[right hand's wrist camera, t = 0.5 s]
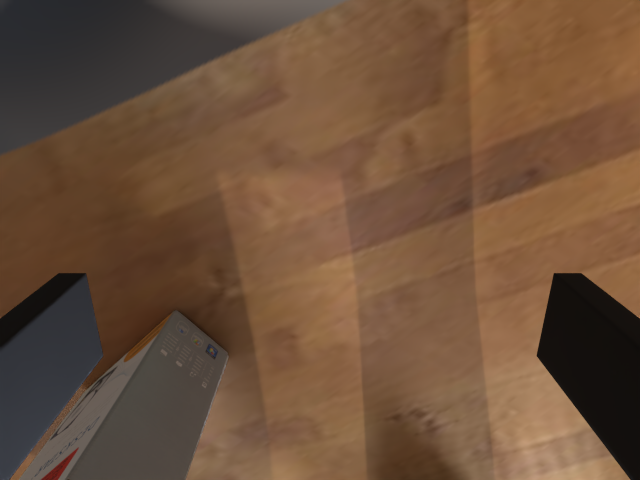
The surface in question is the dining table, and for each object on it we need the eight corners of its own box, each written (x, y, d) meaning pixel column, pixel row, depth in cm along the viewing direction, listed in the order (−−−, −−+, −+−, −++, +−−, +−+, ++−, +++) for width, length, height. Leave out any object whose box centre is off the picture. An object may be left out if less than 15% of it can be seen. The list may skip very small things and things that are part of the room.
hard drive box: (175, 305, 44) (69, 478, 25) (231, 352, 46) (171, 545, 27) (81, 391, 48) (-72, 596, 29) (137, 431, 50) (27, 648, 31)
